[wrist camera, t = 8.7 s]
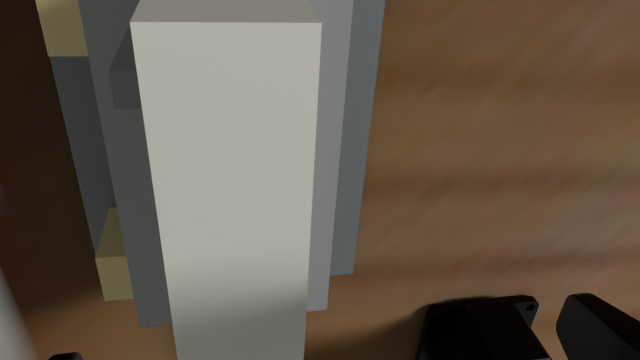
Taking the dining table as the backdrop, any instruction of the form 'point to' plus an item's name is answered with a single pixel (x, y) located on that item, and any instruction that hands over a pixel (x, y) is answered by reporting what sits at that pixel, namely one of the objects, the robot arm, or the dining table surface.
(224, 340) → the white rectangular block
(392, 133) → the dining table surface
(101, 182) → the clip plinth
